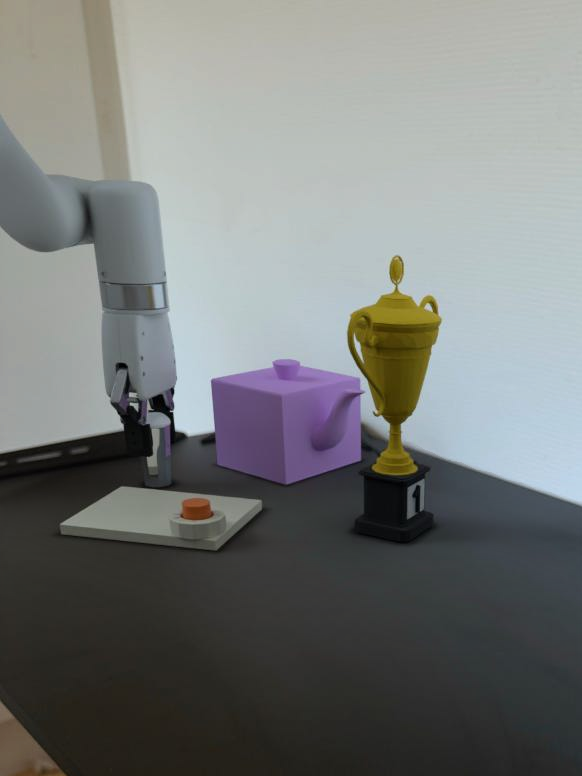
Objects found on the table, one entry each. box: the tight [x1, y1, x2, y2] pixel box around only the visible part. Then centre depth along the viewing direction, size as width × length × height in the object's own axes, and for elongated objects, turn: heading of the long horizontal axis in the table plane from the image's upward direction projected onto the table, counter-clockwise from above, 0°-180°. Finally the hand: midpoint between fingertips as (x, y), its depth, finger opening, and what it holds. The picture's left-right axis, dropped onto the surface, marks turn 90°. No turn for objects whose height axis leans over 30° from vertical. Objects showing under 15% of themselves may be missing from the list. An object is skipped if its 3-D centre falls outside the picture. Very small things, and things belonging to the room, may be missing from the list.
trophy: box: [346, 254, 443, 543], centre depth 102 cm, size 19×10×30 cm, turn 155°
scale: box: [59, 485, 263, 552], centre depth 107 cm, size 18×14×3 cm
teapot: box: [210, 358, 366, 486], centre depth 127 cm, size 15×25×14 cm, turn 56°
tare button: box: [182, 498, 211, 520], centre depth 101 cm, size 3×3×2 cm
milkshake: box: [139, 411, 172, 488], centre depth 117 cm, size 4×5×10 cm
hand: (152, 447), depth 117 cm, fingers open, 5 cm apart
